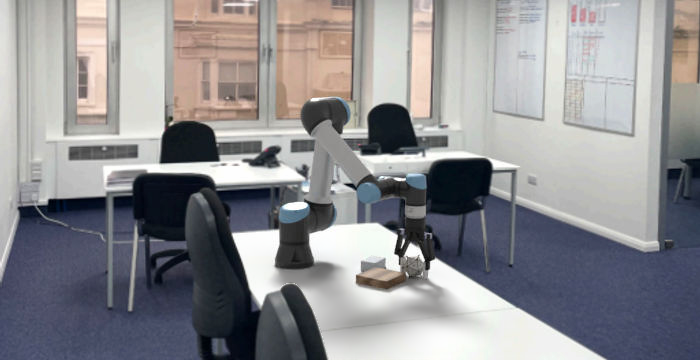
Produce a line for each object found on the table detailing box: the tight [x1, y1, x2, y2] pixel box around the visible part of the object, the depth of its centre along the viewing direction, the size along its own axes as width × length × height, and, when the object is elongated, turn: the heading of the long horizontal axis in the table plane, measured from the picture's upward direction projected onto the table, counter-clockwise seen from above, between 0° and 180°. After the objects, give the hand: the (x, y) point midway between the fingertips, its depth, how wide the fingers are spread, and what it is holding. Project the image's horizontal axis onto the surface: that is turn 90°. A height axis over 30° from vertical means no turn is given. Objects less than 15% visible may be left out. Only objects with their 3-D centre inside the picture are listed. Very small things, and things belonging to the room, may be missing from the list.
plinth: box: [355, 267, 407, 291], centre depth 292 cm, size 13×13×3 cm
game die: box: [401, 254, 424, 279], centre depth 299 cm, size 9×8×10 cm
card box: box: [360, 255, 387, 272], centre depth 310 cm, size 6×9×4 cm, turn 151°
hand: (414, 276), depth 300 cm, fingers open, 9 cm apart
